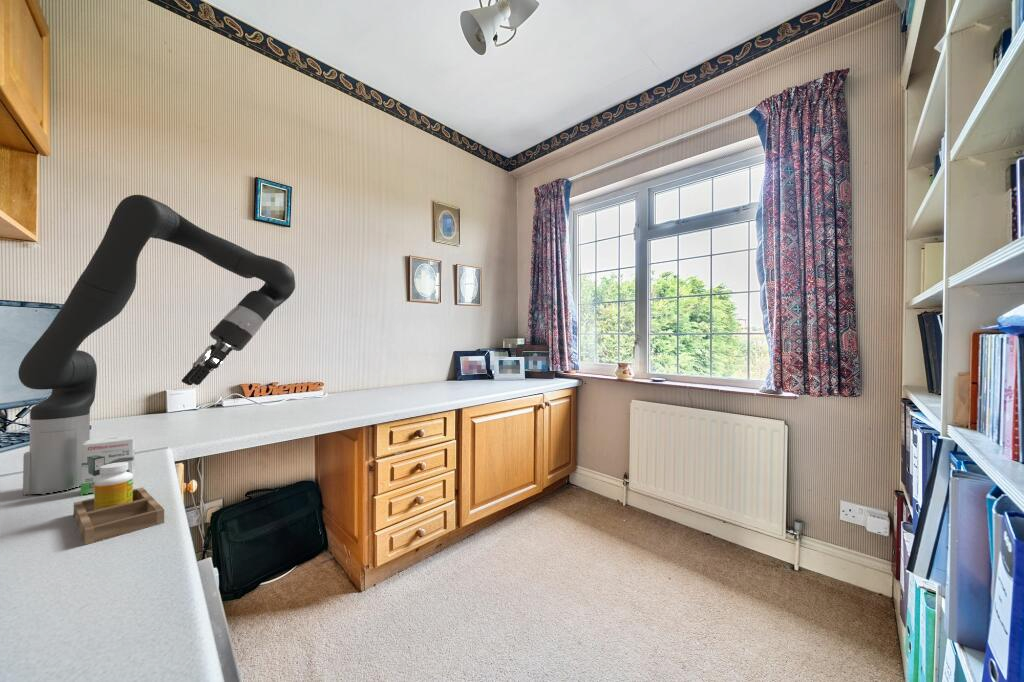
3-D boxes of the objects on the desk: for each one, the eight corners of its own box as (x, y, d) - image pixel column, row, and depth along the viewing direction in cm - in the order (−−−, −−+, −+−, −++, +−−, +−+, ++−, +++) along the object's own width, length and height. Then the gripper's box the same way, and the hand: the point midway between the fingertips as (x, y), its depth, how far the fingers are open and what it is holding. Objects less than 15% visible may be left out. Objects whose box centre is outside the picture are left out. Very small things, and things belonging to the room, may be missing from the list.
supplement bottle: (133, 512, 76) (133, 464, 76) (93, 521, 72) (94, 470, 72) (132, 504, 80) (132, 459, 80) (94, 513, 76) (95, 465, 76)
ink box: (79, 496, 84) (79, 444, 85) (82, 490, 88) (83, 440, 88) (133, 486, 90) (133, 437, 91) (134, 481, 94) (134, 434, 94)
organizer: (73, 514, 75) (73, 502, 75) (142, 498, 83) (142, 487, 83) (85, 544, 63) (85, 530, 63) (164, 522, 71) (164, 509, 71)
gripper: (216, 322, 96) (166, 375, 88) (230, 314, 87) (176, 373, 79) (244, 339, 100) (199, 391, 92) (261, 333, 91) (213, 391, 83)
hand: (189, 383), depth 85 cm, fingers open, 8 cm apart
